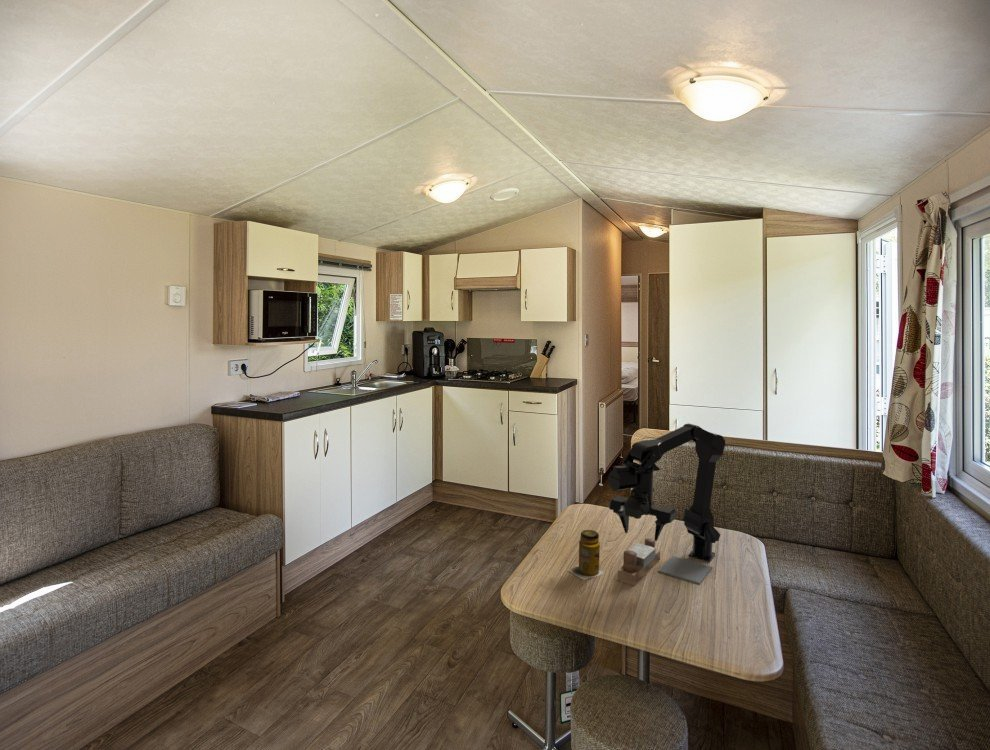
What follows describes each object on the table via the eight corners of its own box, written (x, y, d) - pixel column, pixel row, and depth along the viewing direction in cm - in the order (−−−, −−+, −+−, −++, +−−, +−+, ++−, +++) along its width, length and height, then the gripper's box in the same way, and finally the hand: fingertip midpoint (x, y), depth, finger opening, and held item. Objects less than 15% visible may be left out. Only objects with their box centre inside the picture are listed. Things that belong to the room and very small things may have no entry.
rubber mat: (672, 557, 167) (672, 555, 167) (712, 568, 160) (712, 567, 160) (658, 572, 158) (658, 570, 157) (699, 584, 150) (699, 582, 150)
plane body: (644, 555, 168) (645, 531, 167) (660, 559, 165) (660, 535, 164) (617, 580, 153) (618, 553, 152) (634, 585, 150) (634, 558, 149)
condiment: (605, 573, 157) (606, 534, 156) (584, 581, 152) (585, 541, 151) (588, 563, 163) (589, 526, 162) (567, 570, 158) (567, 532, 157)
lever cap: (636, 551, 164) (636, 542, 164) (655, 557, 160) (655, 547, 160) (624, 562, 157) (624, 553, 157) (643, 568, 153) (644, 558, 153)
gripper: (601, 486, 155) (600, 537, 157) (664, 500, 144) (662, 555, 146) (617, 477, 164) (616, 525, 166) (678, 489, 153) (675, 541, 155)
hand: (641, 536), depth 158 cm, fingers open, 9 cm apart
